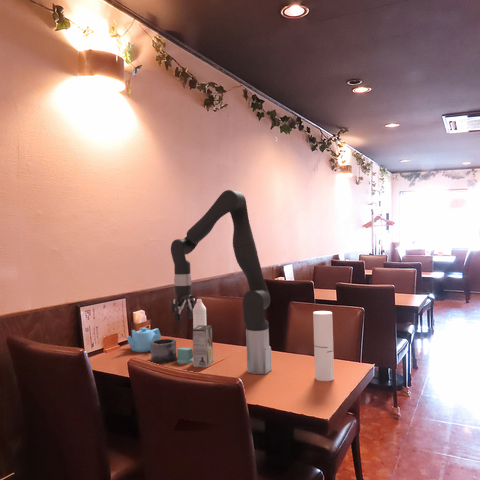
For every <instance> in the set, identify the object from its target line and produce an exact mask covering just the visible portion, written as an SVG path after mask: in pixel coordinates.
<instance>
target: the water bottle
mask: <svg viewBox="0 0 480 480" xmlns="http://www.w3.org/2000/svg"><path fill="white" fill-rule="evenodd" d="M195 300H196V303H194V308H192V319H193V320H192V321H193V322H192V326H193V327H192V328H193V329H194V328H196V327H197V326H198V325H208V324H207V307H206V306H205V305H204V303H203V300H202V299H201V298H197V299H196V298H194V302H195ZM193 329H192V330H193Z"/></svg>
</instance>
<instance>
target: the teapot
mask: <svg viewBox="0 0 480 480" xmlns="http://www.w3.org/2000/svg"><path fill="white" fill-rule="evenodd" d="M130 331H131V335H129V336H126V339H127V342H128V345H129V347H130V349H131V351H132V352H134V351H137V352H136V353H148V351H149V352H151V342H152V341H154V340H159V339H162V338H161V337H162V334H161V332H160V330H159V328H154V329H148V328H147V327H145V326H144V327H141V329H140V330H137V331H136V330H135V329H132V330H130Z"/></svg>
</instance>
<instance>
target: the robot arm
mask: <svg viewBox="0 0 480 480" xmlns="http://www.w3.org/2000/svg"><path fill="white" fill-rule="evenodd" d="M226 214H230V217H231V220H232V224H233V233H232V249H233V252H234V253H233V254H234V256H235V260H236V262H237V264H238V266H239V268H240V269H241V271H242V272H243V274H244V276H245V278H246V280H247V284H248V288H249V290H247V291H246V292H245V293H244V295H243V296H242V314H243V322H244V325H245V336H246V337H245V342H246V343H245V344H246V371H247V373H250V374H253V375H262V374H263V375H267V374H268V373H269V372H270V371H271V370H272V347H271V346H270V334H269V333H270V332H269V330H270V329H269V328H270V327H269V321H268V320H266V318H265V310H266V309H267V308H269V306H270V304H271V295H270V292H269V289H268V287H267V284H266V281H265V279H264V274H263V271H262V267H261V263H260V259H259V255H258V251H257V245H256V242H255V239H254V235H253V232H252V227H251V224H250V218H249V213H248V207H247V199H246V196H244V194H243V192H241V191H238V190H233V189H227V190H224V191H223V192H221V194H220V195H219V196H218V197H217V199H216V200H215V201H214V203H213V204H212V205H211V206H210V208H209V209H208V210H207V212H206V213H204V215H203V216H202V217H201V218H200V219H199V220H198V221H196V223H194V224H193V226H191V227H190V228H189V229H188V230H187V232H186V236H185V237H184V238H177V239H174V240H172V242H171V245H170V254H171V257H172V261H173V264H174V278H173V284H174V285H173V287H174V288H173V289H174V296H176V298H172V299H171V313H172V314H174V315H175V316H174V318H175V319H174V320H175V323H177V324H178V323H181V318H182V317H181V312H182V310H183V309H184V308H185V310H186V311H185V312H186V313H185V315H186V317H185V319H187V320H191V319H192V311H193V308H194V306H195V301H194V295H193V294H192V293H193V292H192V275H191V262H190V261H189V260H187V258H186V255H189V254H190V253H192V252H193V251H194V250H195V249H196V247H197V246H198V245H199V243H200V242H201V241H202V240H204V238H206V237H207V236H208V235H209V234H210V233H211V232H212V230H213V228H214V227H215V225H216V224H217V222H218V221H219V220H221V218H223V217H224V216H225V215H226Z"/></svg>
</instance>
